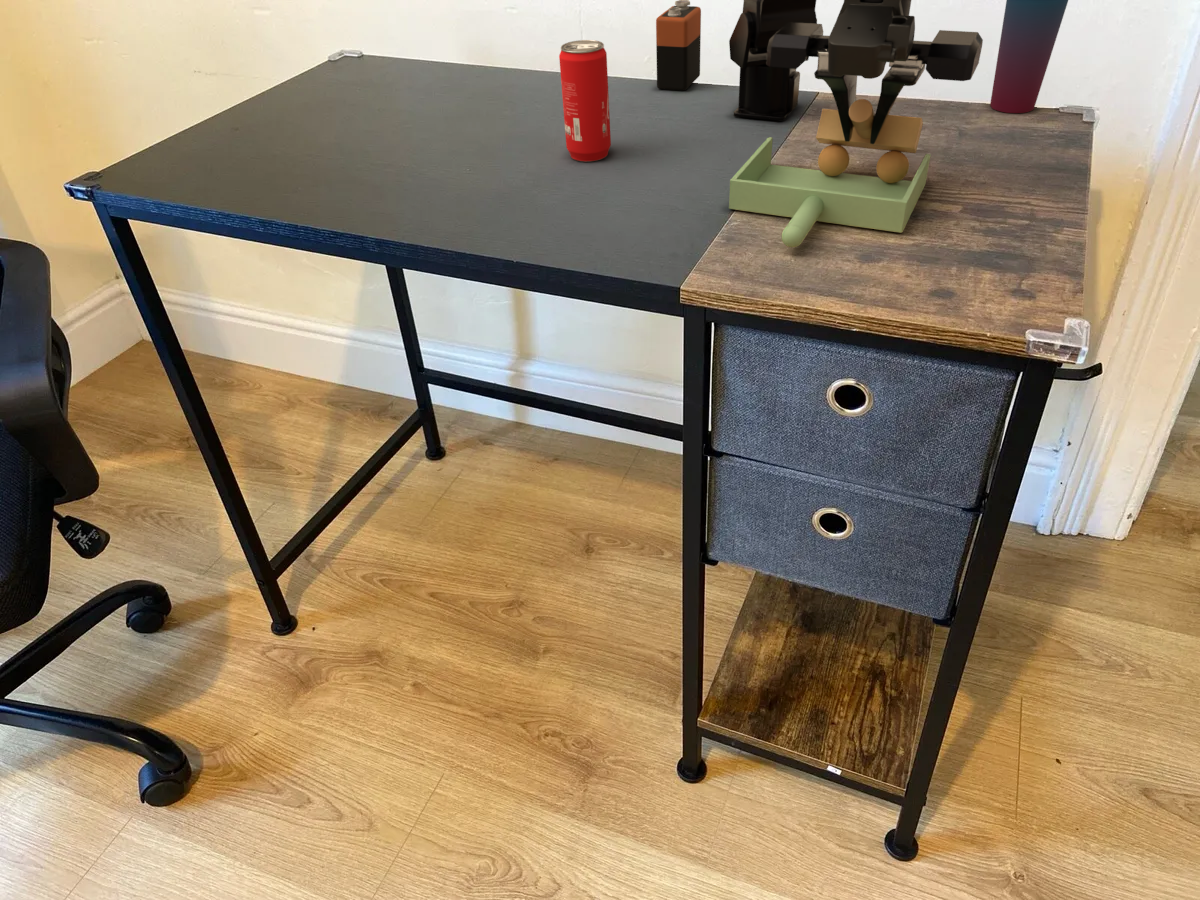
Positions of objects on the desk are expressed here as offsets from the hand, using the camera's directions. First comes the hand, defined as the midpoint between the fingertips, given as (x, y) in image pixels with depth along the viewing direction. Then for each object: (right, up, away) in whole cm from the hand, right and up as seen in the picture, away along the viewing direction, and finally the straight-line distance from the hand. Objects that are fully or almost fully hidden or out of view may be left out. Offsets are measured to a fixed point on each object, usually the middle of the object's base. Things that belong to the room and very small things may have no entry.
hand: (860, 141), depth 87 cm
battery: (-15, +20, +35) cm, 43 cm away
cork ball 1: (-1, 0, +5) cm, 5 cm away
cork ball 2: (+4, -2, +3) cm, 5 cm away
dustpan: (-4, -7, 0) cm, 8 cm away
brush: (+2, +2, +5) cm, 6 cm away
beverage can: (-27, +4, +15) cm, 31 cm away
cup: (+24, +11, +20) cm, 34 cm away
